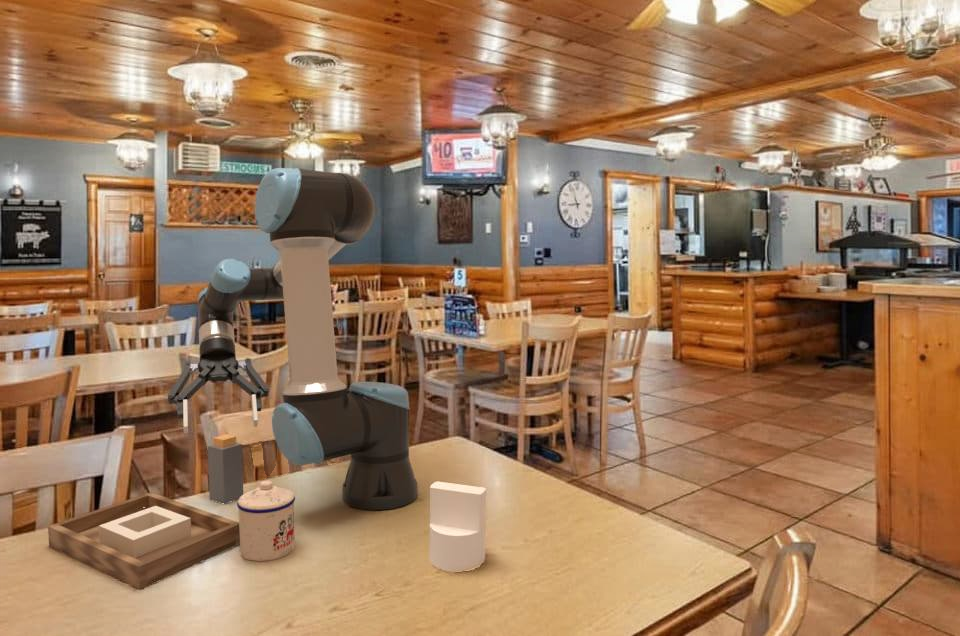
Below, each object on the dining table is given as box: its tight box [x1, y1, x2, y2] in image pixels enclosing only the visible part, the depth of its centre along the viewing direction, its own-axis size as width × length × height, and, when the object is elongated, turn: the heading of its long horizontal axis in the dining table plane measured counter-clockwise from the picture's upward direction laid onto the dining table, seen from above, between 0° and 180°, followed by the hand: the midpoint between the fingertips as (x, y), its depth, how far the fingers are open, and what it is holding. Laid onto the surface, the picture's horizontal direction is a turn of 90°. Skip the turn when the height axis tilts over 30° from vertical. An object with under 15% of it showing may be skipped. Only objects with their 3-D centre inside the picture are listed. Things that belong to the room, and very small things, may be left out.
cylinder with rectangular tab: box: [429, 480, 487, 573], centre depth 105 cm, size 9×9×12 cm
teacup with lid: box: [236, 480, 296, 562], centre depth 109 cm, size 12×9×12 cm
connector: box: [207, 433, 244, 505], centre depth 129 cm, size 4×4×13 cm
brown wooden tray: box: [47, 491, 240, 591], centre depth 109 cm, size 26×18×4 cm
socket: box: [99, 506, 191, 558], centre depth 109 cm, size 10×10×3 cm
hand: (221, 426), depth 136 cm, fingers open, 13 cm apart
